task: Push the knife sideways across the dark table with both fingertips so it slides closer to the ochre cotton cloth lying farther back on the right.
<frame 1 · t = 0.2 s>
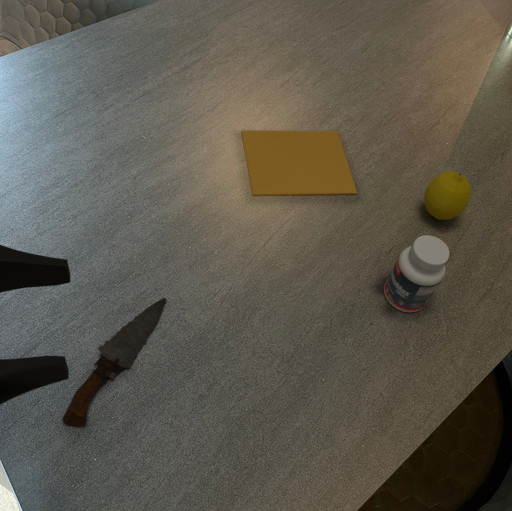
hand: (67, 316, 43), 20 cm above the table, tool horizontal, fingers open, 7 cm apart
knife: (118, 358, 64), on the table
fruit: (435, 217, 83), on the table
pill bottle: (404, 295, 74), on the table
cloth: (297, 162, 85), on the table
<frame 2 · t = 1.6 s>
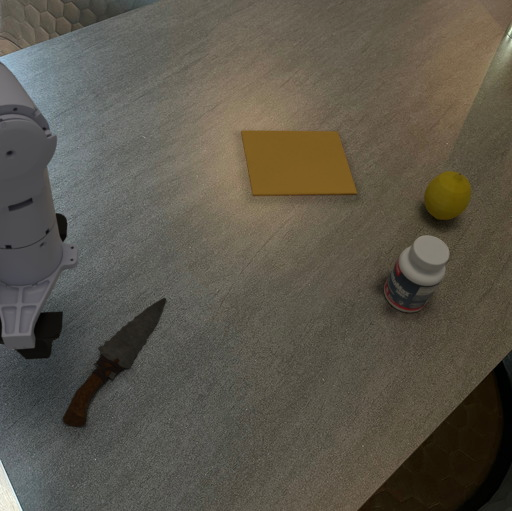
hand: (40, 317, 56), 8 cm above the table, tool pointing down, fingers open, 7 cm apart
nothing on the table moved.
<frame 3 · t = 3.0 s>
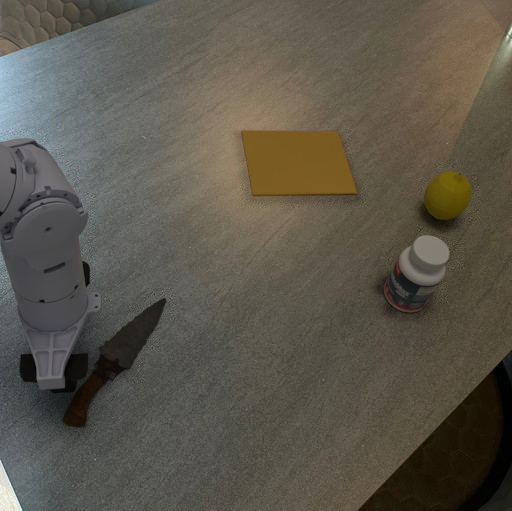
hand: (65, 353, 62), 1 cm above the table, tool pointing down, fingers open, 7 cm apart
knife: (118, 358, 64), on the table, touching gripper
everything else where it was.
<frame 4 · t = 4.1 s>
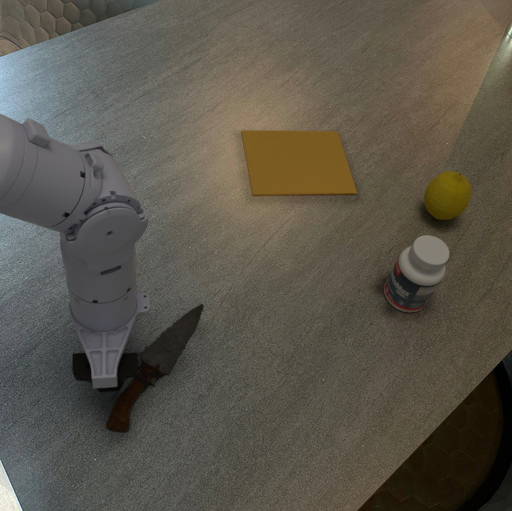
hand: (109, 353, 63), 1 cm above the table, tool pointing down, fingers open, 7 cm apart
knife: (158, 363, 64), on the table, touching gripper
everything else where it was.
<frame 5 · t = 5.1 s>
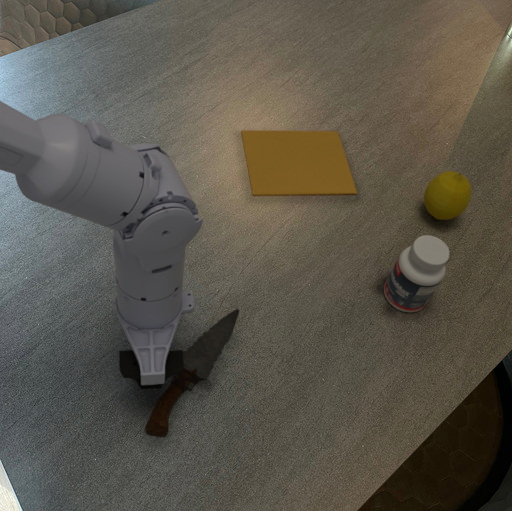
hand: (149, 351, 64), 1 cm above the table, tool pointing down, fingers open, 7 cm apart
knife: (194, 368, 65), on the table, touching gripper
everything else where it was.
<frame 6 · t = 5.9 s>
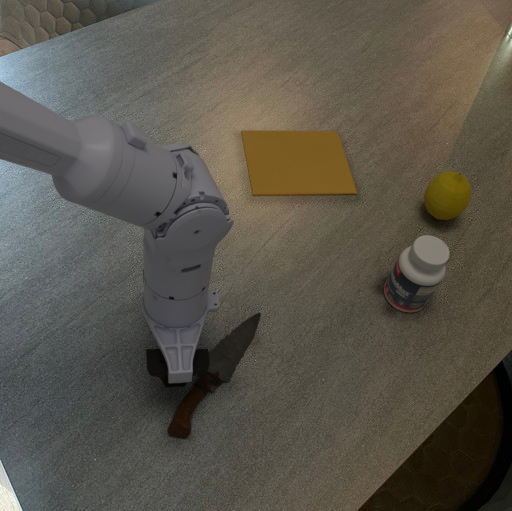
hand: (172, 349, 64), 1 cm above the table, tool pointing down, fingers open, 7 cm apart
knife: (216, 371, 65), on the table, touching gripper
everything else where it was.
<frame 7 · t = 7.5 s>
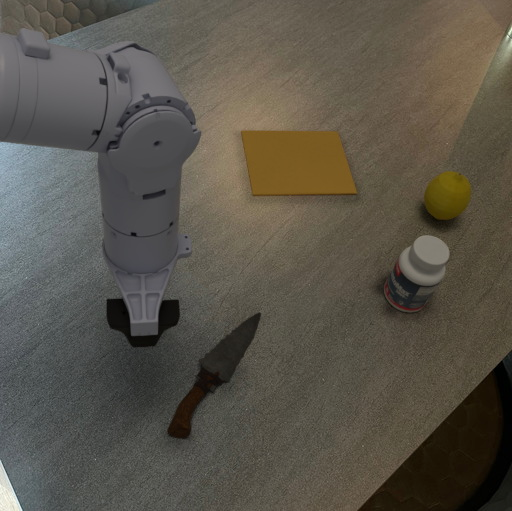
hand: (142, 306, 57), 9 cm above the table, tool pointing down, fingers open, 7 cm apart
knife: (216, 370, 65), on the table
everything else where it was.
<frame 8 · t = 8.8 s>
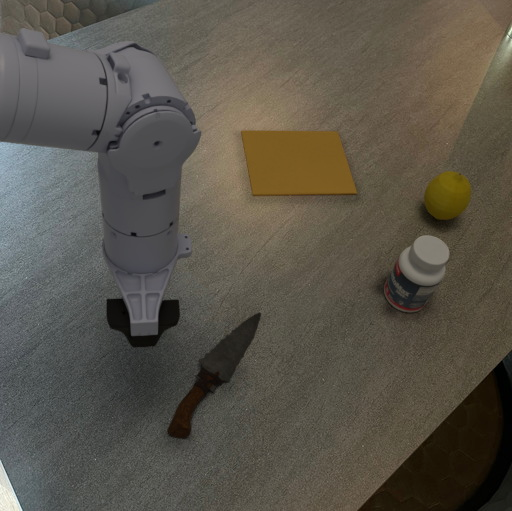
hand: (142, 306, 57), 9 cm above the table, tool pointing down, fingers open, 7 cm apart
nothing on the table moved.
at the end: knife 33.3 cm from the cloth (horizontally); knife moved 10.2 cm from its start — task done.
